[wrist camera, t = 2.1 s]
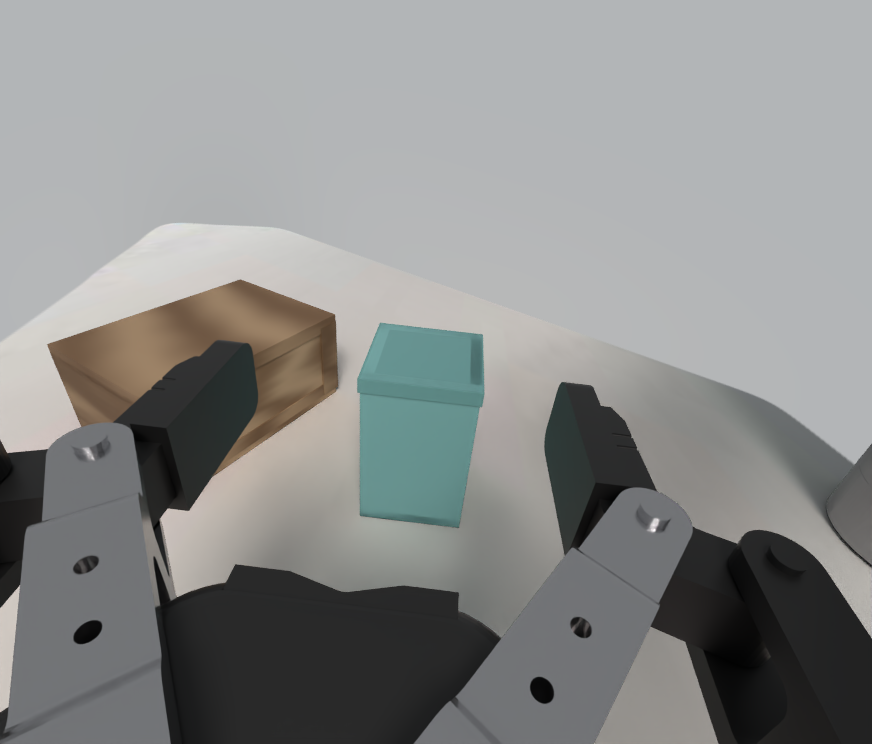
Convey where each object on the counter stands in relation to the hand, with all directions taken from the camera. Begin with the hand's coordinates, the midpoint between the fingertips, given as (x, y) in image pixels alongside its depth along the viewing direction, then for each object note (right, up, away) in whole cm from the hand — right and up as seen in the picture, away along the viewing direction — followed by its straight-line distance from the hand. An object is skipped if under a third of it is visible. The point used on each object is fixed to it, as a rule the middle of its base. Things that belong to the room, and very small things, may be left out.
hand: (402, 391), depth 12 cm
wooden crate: (-15, -2, +23) cm, 28 cm away
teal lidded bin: (-1, -7, +18) cm, 19 cm away
